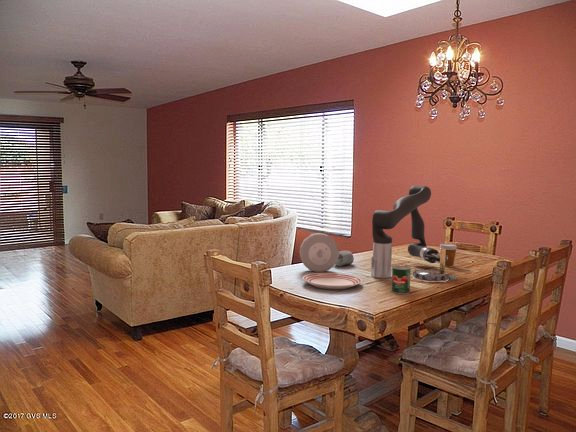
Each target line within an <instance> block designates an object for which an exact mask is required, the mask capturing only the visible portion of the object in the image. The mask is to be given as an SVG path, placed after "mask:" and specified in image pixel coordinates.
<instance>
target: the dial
mask: <svg viewBox="0 0 576 432" xmlns="http://www.w3.org/2000/svg"><path fill="white" fill-rule="evenodd" d="M339 252H340V251H339V247H338V245H337V242H336V241H335V239H334V238H332V237H331V236H330V235H328V234H326V233H322V232H315V233H310V234H309V235H308V236H306V237H305V238H304V239H303V240H302V242H301V244H300V246H299V257H300V260H301V262H302V264H303V265H304V267H305V268H306V269H307V270H309V271H311V272H313V273H326V272H327V271H330V270H331V269H332V268H334V266H336V265H335V264H336V262H337V260H338V256H339Z"/></svg>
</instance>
